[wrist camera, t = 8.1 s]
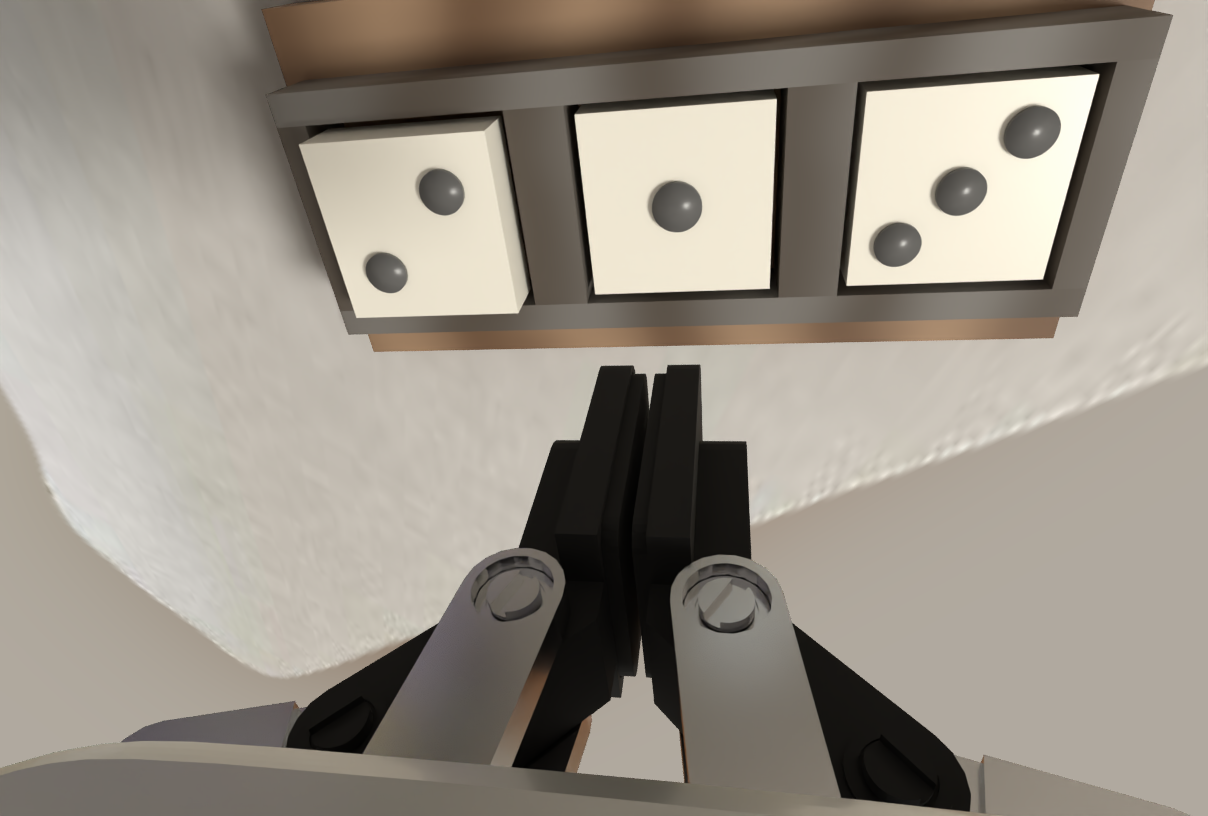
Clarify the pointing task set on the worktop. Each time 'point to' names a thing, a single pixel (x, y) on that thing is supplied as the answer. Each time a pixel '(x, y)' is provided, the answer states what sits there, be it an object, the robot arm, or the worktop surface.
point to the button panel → (694, 67)
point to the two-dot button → (422, 216)
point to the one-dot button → (679, 191)
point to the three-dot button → (961, 174)
